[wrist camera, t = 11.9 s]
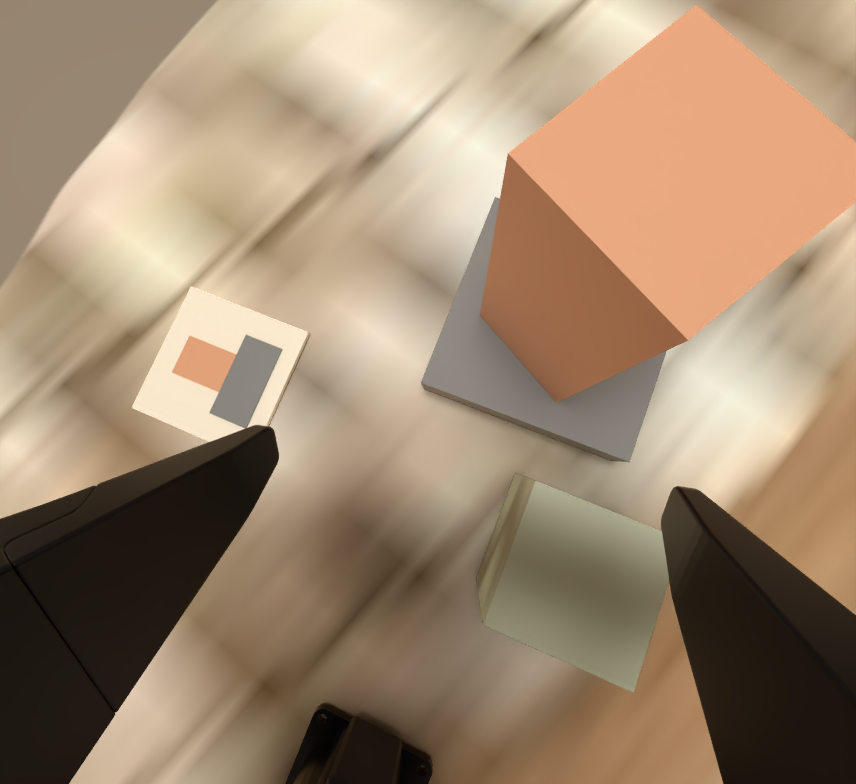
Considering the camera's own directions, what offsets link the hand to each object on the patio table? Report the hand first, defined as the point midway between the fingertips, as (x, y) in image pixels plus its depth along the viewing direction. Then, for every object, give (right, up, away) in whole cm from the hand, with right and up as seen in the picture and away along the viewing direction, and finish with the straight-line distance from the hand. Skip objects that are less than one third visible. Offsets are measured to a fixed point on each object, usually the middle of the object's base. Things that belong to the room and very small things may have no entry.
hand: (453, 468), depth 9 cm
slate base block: (+6, +5, +15) cm, 17 cm away
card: (-13, +3, +15) cm, 20 cm away
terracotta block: (+6, +5, +12) cm, 15 cm away
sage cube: (+6, -7, +13) cm, 16 cm away
